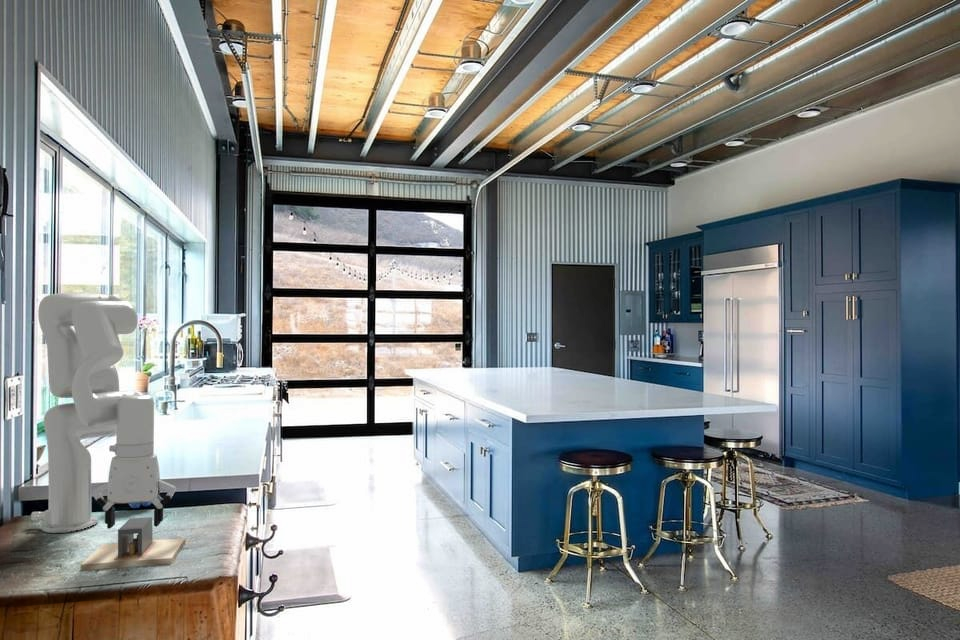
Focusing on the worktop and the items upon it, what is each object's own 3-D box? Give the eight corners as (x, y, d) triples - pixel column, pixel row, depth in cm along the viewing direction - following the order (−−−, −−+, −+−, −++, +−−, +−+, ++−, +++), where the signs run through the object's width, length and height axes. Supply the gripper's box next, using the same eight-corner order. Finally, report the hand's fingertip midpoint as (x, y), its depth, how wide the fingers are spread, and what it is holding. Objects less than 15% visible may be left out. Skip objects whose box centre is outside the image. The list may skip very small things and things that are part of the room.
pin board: (80, 570, 145) (80, 552, 145) (102, 548, 159) (102, 532, 159) (171, 563, 149) (171, 546, 149) (185, 543, 163) (185, 527, 163)
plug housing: (118, 557, 149) (117, 530, 149) (130, 544, 158) (129, 518, 158) (141, 555, 150) (141, 528, 150) (152, 542, 159) (152, 517, 159)
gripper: (87, 454, 149) (86, 533, 149) (172, 452, 152) (171, 529, 153) (98, 447, 156) (98, 522, 156) (179, 445, 160) (179, 519, 160)
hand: (134, 525), depth 154 cm, fingers open, 9 cm apart
